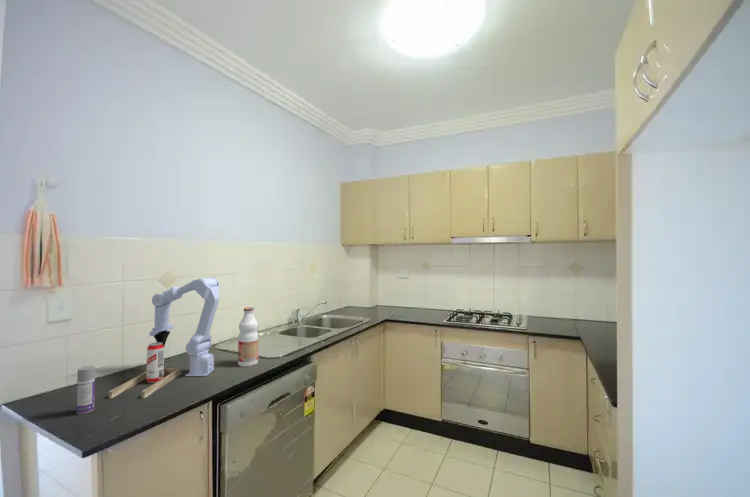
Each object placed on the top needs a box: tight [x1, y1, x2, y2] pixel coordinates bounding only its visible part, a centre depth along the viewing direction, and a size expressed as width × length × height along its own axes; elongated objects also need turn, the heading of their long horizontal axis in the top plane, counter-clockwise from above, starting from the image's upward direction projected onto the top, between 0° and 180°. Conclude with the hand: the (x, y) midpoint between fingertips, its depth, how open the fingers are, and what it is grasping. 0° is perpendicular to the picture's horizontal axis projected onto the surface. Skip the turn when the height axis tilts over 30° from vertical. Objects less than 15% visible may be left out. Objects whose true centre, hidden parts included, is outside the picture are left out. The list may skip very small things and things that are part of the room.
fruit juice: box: [237, 306, 259, 368], centre depth 165 cm, size 9×9×28 cm
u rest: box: [108, 368, 182, 399], centre depth 137 cm, size 13×25×2 cm, turn 2°
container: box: [75, 365, 96, 415], centre depth 115 cm, size 5×5×15 cm
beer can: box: [145, 342, 165, 384], centre depth 142 cm, size 6×6×16 cm
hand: (161, 347), depth 156 cm, fingers closed
